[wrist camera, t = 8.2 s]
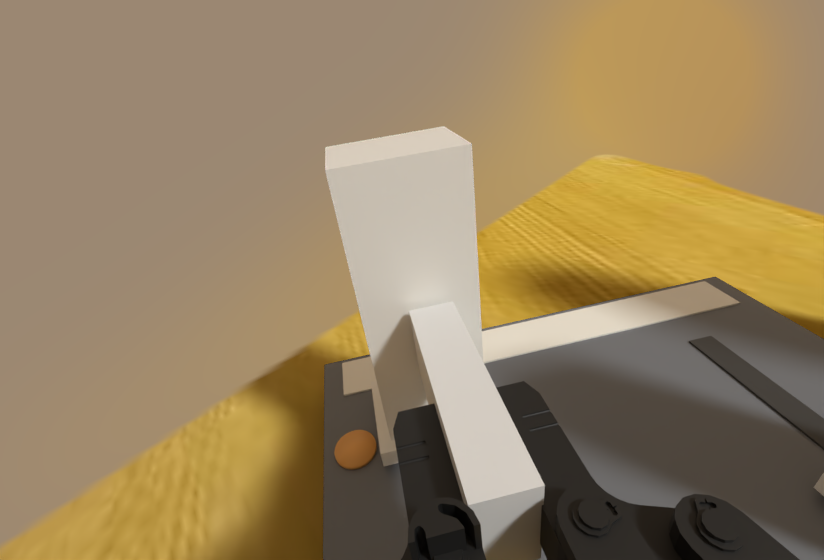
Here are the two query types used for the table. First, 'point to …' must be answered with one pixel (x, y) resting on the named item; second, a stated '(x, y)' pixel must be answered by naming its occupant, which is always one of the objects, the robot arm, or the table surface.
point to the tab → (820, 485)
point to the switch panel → (625, 413)
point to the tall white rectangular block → (406, 251)
